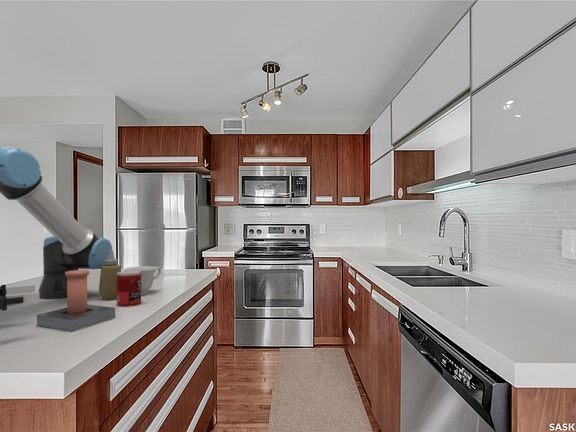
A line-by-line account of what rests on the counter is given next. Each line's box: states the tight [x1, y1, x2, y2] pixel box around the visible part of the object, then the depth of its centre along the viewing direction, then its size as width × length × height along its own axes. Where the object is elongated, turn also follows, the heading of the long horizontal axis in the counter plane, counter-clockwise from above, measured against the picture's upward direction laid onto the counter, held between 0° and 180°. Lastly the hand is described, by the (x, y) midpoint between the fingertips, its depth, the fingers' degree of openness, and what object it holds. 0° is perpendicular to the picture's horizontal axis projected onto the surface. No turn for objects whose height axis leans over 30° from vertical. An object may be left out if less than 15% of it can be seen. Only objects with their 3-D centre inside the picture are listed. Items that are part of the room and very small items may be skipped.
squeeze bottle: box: [98, 249, 122, 301], centre depth 136 cm, size 8×8×18 cm
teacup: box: [122, 265, 162, 296], centre depth 145 cm, size 12×15×10 cm
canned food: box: [116, 270, 142, 307], centre depth 127 cm, size 8×8×11 cm
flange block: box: [36, 303, 116, 332], centre depth 106 cm, size 14×14×3 cm
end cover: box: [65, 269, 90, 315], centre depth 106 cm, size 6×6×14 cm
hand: (37, 293), depth 100 cm, fingers open, 13 cm apart
